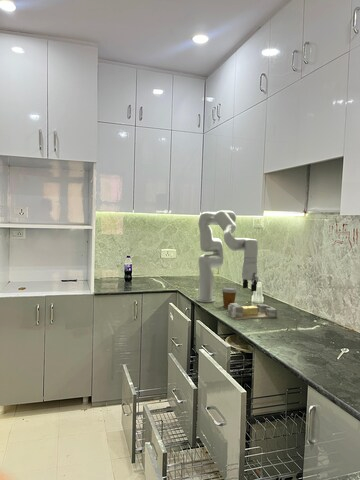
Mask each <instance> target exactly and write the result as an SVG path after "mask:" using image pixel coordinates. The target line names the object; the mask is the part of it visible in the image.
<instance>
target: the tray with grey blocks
mask: <svg viewBox="0 0 360 480" xmlns="http://www.w3.org/2000/svg"><path fill="white" fill-rule="evenodd" d="M256 307H258V314H256V315H243V307H242V305H240V304H239V303H237V302H234V303H230V305H228V308H227V311H226V312H225V314H226V315H227V316H229V317H231V318H233V319H234V320H240V321H241V320H252V319H269V318H270V319H271V318H278V316H277V315H278V309H276V308H275V307H272V306H270V305H267V304H265V303H258V304H256Z"/></svg>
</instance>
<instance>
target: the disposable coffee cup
mask: <svg viewBox="0 0 360 480" xmlns="http://www.w3.org/2000/svg"><path fill="white" fill-rule="evenodd" d="M221 291H222V302H223V303H222V304H223V307H224V308H227V309H228V305H230V303H236V302H235V300H236V295H237V291H238V289H237V288H236V287H232V286H224V287H222V289H221Z"/></svg>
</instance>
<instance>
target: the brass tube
mask: <svg viewBox="0 0 360 480" xmlns="http://www.w3.org/2000/svg"><path fill="white" fill-rule="evenodd" d="M241 306H242V305H241ZM242 307H243V315H256V314H258V307H257V305H246V306H245V305H244V306H242Z"/></svg>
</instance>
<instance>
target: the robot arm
mask: <svg viewBox="0 0 360 480" xmlns="http://www.w3.org/2000/svg"><path fill="white" fill-rule="evenodd" d="M236 221H237V216H236V213H235V212H234V211H232V210H218V211H204V212H202V213H200V214H199V216H198V220H197V224H198V230H199V242H200V243H199V247H200V250H201V251H202V252H203V253H204V254H201V255H200V256H199V258H198V269H199V273H198V274H199V278H198V280H199V281H198V297H196V301H197V302H199V303H200V302H201V303H214V302H215V301H216V299H215V298H213V296H214V273H213V270H212V269H214V268H215V269H217V268H220V267H222V266H223V264H224V244H223V242H222V240H221V239H220V238H218V237H213V230H212V227H211V225H213V226H219V227H220V228H221V230H222V231H223V241H224V243H225V245H226V246H227V247H228V249H230V250H231V251H235V252H236V251H238V252H239V251H242V252H243V254H244V255H243V264H242V271H241V272H242V273H241V278H242V289H248V288H249V281H250V282H251V286H250V291H251V292H257V288H258V282H259V276H258V266H257V265H258V249H259V248H258V245H259V242H258V240H257V239H255V238H249V237H247V238H246V237H235V236H233V233H234V232H235V231H236V230H237V224H236Z"/></svg>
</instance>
